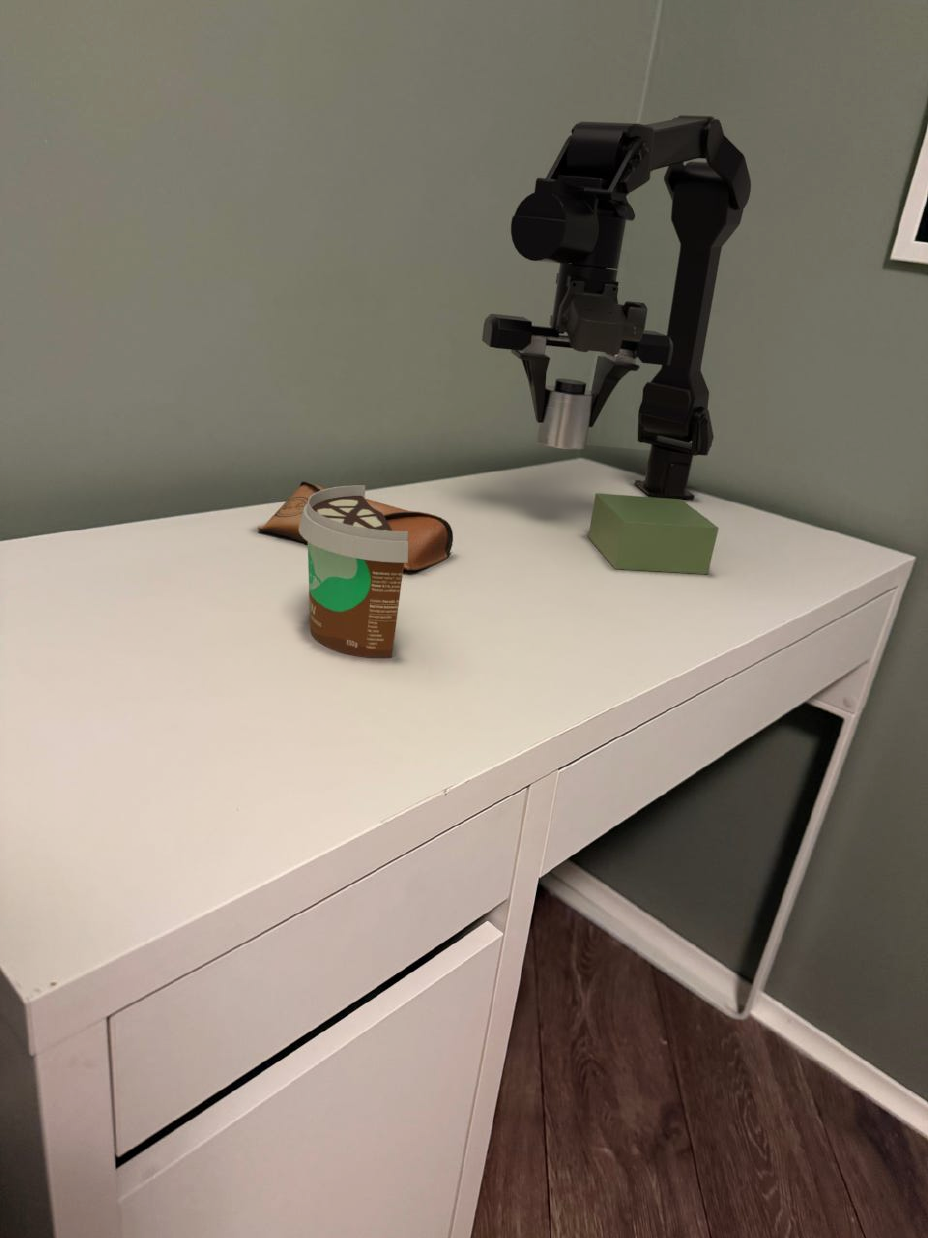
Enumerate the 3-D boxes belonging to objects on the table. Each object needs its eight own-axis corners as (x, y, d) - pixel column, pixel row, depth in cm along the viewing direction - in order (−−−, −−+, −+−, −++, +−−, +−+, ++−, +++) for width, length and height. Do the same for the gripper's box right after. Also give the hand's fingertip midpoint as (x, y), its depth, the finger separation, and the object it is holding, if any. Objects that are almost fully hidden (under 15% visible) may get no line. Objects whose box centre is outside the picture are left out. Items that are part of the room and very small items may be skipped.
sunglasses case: (250, 527, 86) (273, 463, 87) (285, 547, 93) (306, 487, 94) (414, 572, 80) (437, 503, 81) (439, 590, 87) (460, 526, 87)
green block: (587, 536, 98) (595, 492, 96) (672, 542, 100) (682, 499, 98) (614, 569, 89) (624, 521, 87) (707, 574, 91) (719, 527, 89)
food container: (281, 602, 72) (285, 482, 68) (355, 600, 74) (363, 483, 70) (312, 672, 62) (319, 534, 58) (397, 666, 64) (410, 534, 60)
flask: (532, 435, 97) (541, 374, 94) (578, 439, 98) (588, 379, 95) (542, 447, 92) (552, 383, 89) (591, 451, 93) (602, 387, 90)
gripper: (511, 258, 79) (489, 433, 85) (709, 282, 82) (674, 449, 88) (491, 253, 89) (472, 410, 95) (667, 275, 92) (638, 425, 98)
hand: (564, 424), depth 94 cm, fingers closed on flask, 5 cm apart
